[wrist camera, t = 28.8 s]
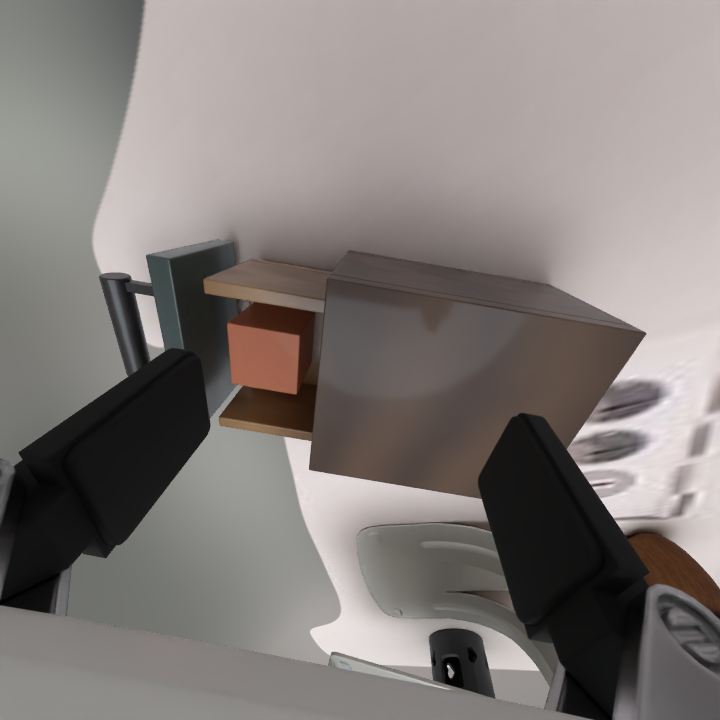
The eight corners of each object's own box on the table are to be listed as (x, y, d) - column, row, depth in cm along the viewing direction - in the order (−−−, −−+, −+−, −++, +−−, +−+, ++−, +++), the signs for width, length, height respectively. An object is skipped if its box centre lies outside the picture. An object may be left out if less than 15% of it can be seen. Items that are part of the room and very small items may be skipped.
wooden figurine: (651, 559, 35) (810, 773, 22) (601, 555, 36) (728, 763, 22) (681, 526, 32) (888, 753, 19) (625, 522, 32) (790, 741, 19)
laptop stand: (529, 617, 44) (593, 801, 31) (377, 617, 48) (374, 781, 34) (543, 513, 33) (655, 734, 19) (341, 524, 36) (315, 714, 23)
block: (255, 300, 21) (226, 322, 17) (315, 310, 21) (300, 335, 17) (257, 353, 23) (231, 384, 19) (311, 363, 23) (296, 395, 19)
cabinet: (330, 393, 27) (308, 470, 19) (348, 250, 21) (326, 278, 13) (486, 420, 27) (527, 506, 19) (550, 284, 21) (648, 333, 13)
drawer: (173, 368, 26) (108, 419, 20) (146, 226, 20) (44, 237, 14) (379, 402, 26) (377, 464, 20) (408, 271, 20) (419, 301, 14)
